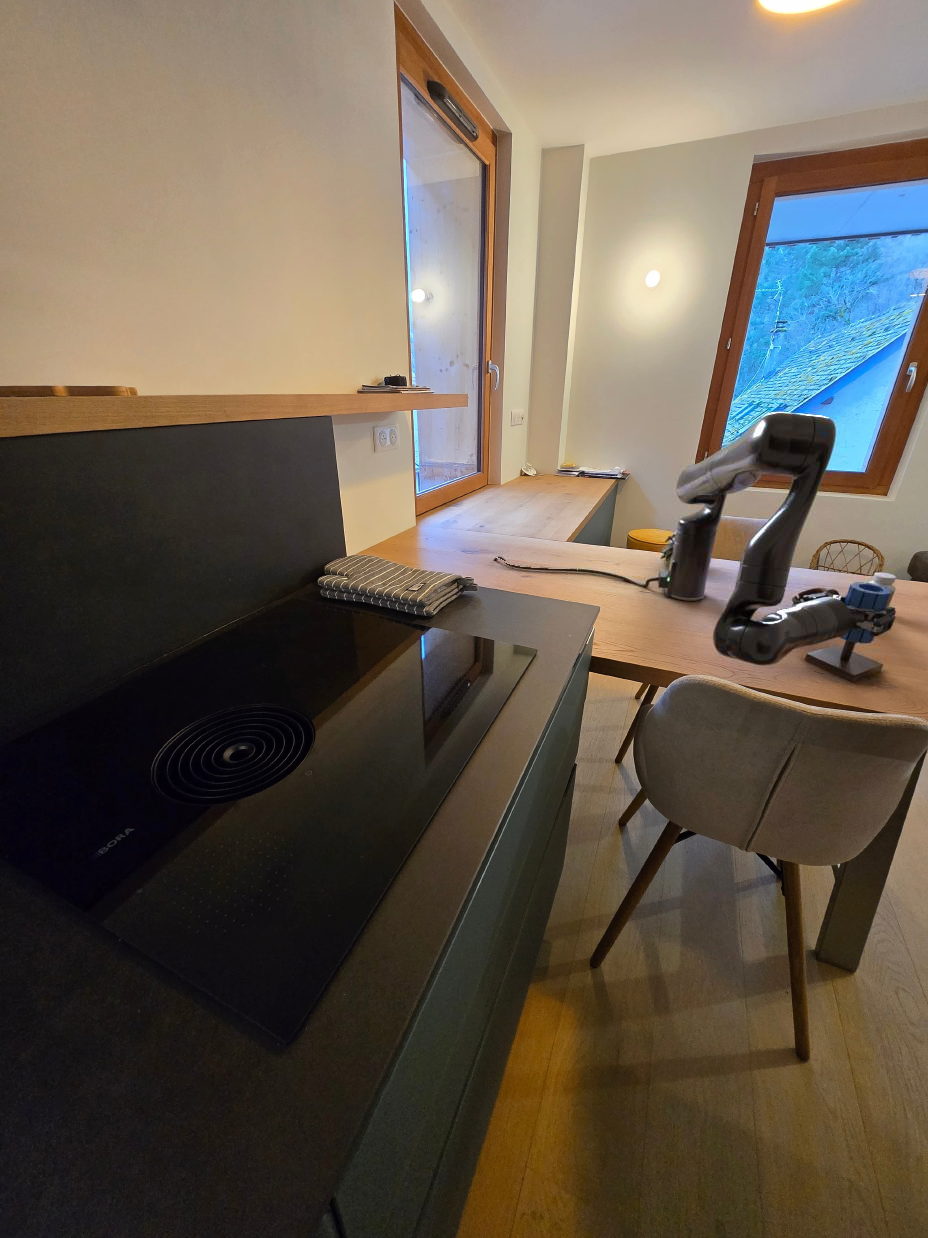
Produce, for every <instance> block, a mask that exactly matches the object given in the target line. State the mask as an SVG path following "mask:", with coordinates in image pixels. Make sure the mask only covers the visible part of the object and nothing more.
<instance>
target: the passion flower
mask: <svg viewBox="0 0 928 1238" xmlns="http://www.w3.org/2000/svg"><path fill="white" fill-rule="evenodd" d="M675 536H676V533H673V534H672V535H668V536H667V538H666V539H664V543H667V545H665V546H664V547H662V550H661V554H662V555H661V556H660V558H659V559H660V560H662V559H664V560H665V561H666V564H665V566H666V568H667V569H668V570H669V565H670V559H671V556H672V554H673V548H674V542H675V540H673V539H675ZM669 541H671V542H669ZM668 542H669V543H668Z"/></svg>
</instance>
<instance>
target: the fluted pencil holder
mask: <svg viewBox="0 0 928 1238" xmlns="http://www.w3.org/2000/svg"><path fill="white" fill-rule="evenodd" d="M891 594H892V591H891V590H890V589H889V588H887V587H884V586H881V585H876V584H873V583H868V582H864V581H856V582H852V583H850V585H849V587H848V590H847V592H846V595H847V596H846V598H845V601H844V604H845V605H847V606H854V607H869V608H870V609H872V610H880V609H884V608H886V607H887V605H888V602H889V599H890V597H891ZM862 614H863V615H864V613H862ZM875 617H876V615H874V616H873V617H872V619H871V620H874V619H875ZM869 633H870V630H868V629H865V628H860V629H851V630H849V631H848V632H847V633H845V634H844V635H842V636H840V637H839V638H840V639H842V640H844V641H846V640H848V641H850V642H855V643H856V644H872V642H874V640H875V638H876V636H872V635H870V634H869Z"/></svg>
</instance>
